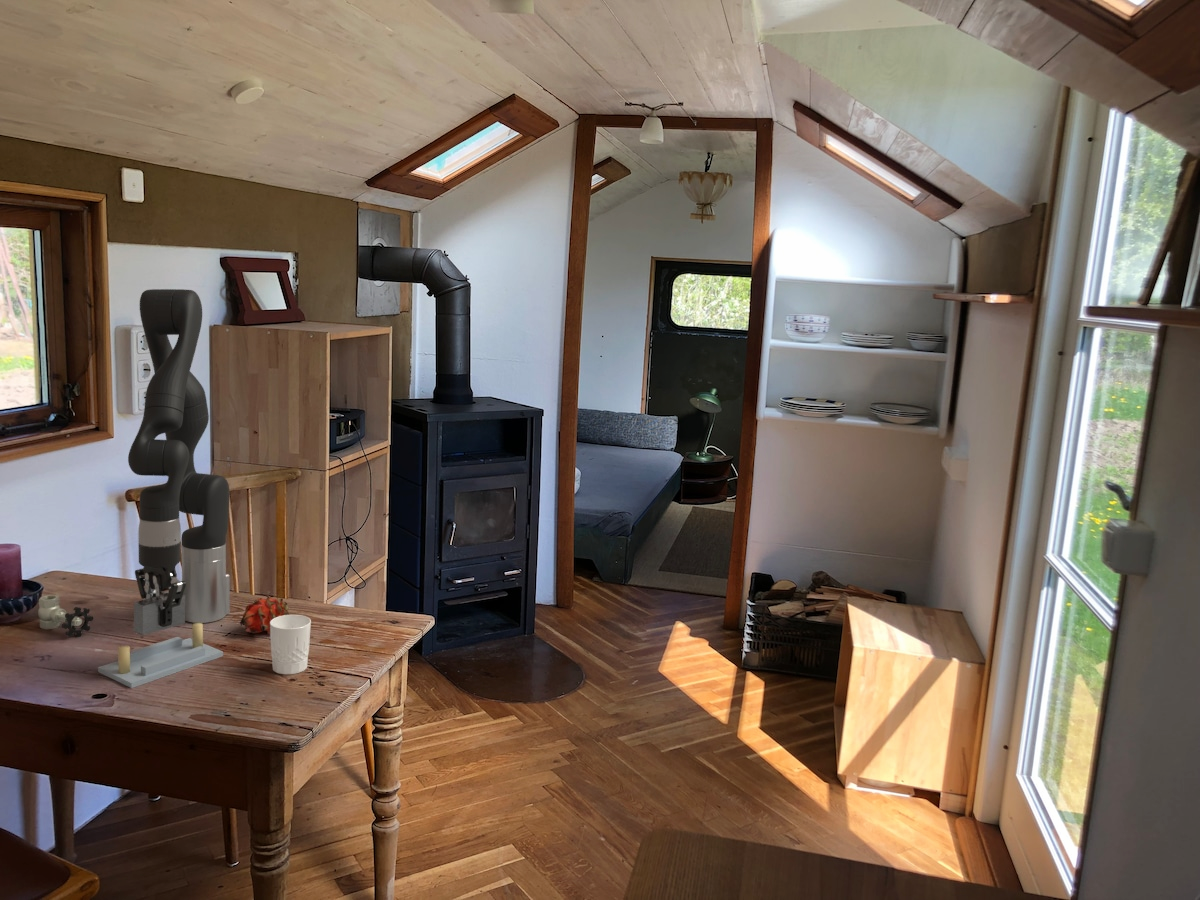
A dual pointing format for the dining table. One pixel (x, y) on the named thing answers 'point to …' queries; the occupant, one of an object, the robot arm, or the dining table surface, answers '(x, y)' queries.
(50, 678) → the dining table surface
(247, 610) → the dragon fruit
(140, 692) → the dining table surface
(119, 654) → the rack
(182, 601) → the gray rectangular block
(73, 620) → the valve
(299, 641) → the white cup
